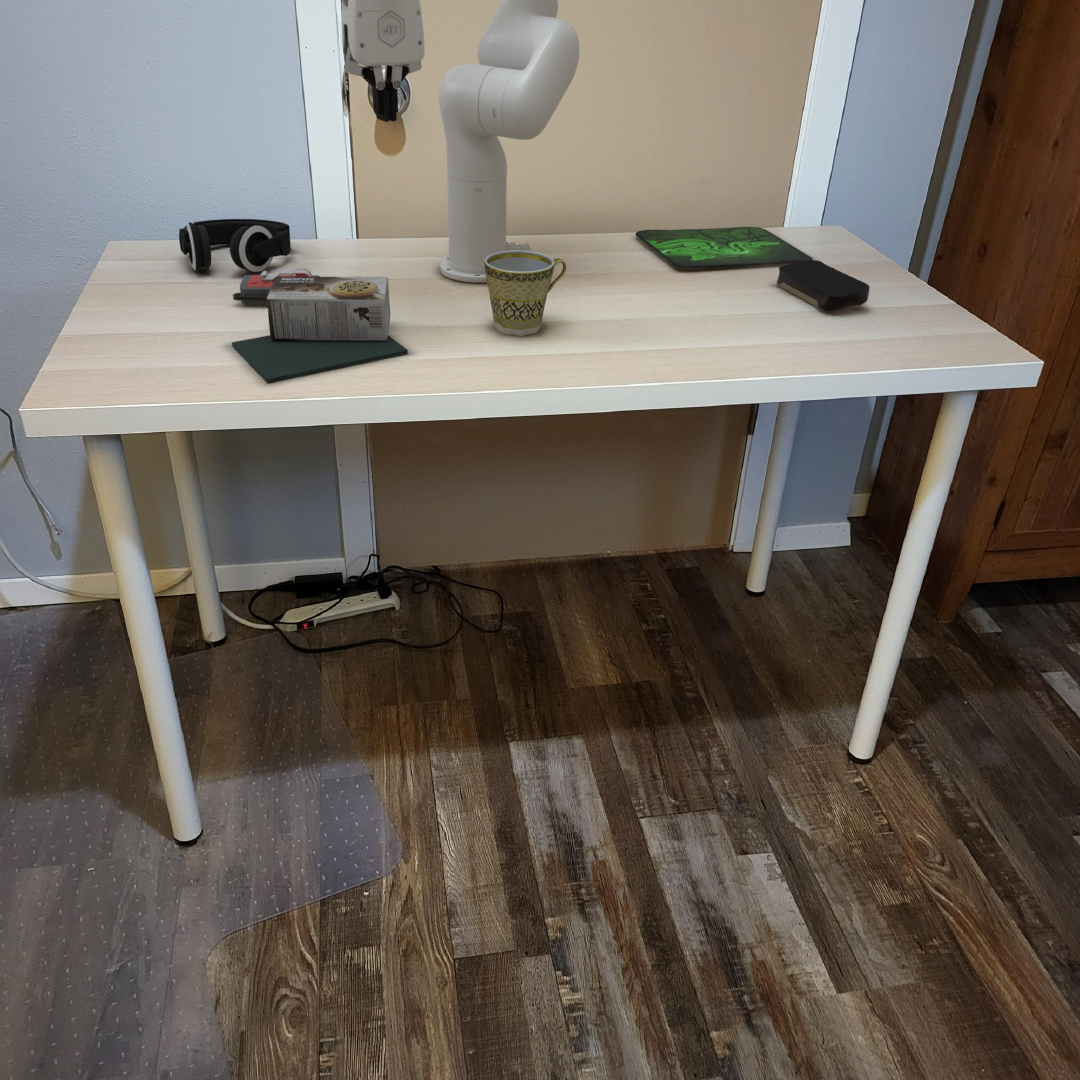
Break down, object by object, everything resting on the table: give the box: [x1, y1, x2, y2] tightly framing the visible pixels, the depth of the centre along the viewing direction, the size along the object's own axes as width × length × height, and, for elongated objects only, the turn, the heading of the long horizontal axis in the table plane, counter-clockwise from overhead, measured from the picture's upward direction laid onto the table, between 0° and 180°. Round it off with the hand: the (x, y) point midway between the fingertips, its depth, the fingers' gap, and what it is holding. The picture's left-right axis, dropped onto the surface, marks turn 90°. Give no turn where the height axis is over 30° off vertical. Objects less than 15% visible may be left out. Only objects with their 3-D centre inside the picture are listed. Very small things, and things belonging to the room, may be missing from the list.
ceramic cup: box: [484, 250, 567, 337], centre depth 142 cm, size 13×10×10 cm
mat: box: [231, 334, 409, 384], centre depth 135 cm, size 20×14×1 cm
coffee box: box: [266, 276, 392, 341], centre depth 138 cm, size 9×6×16 cm
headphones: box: [178, 218, 292, 274], centre depth 164 cm, size 18×8×20 cm
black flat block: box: [776, 259, 871, 313], centre depth 159 cm, size 16×8×4 cm, turn 22°
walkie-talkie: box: [232, 268, 321, 307], centre depth 149 cm, size 9×4×20 cm
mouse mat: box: [635, 226, 814, 269], centre depth 179 cm, size 27×22×1 cm
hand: (386, 119), depth 134 cm, fingers closed
